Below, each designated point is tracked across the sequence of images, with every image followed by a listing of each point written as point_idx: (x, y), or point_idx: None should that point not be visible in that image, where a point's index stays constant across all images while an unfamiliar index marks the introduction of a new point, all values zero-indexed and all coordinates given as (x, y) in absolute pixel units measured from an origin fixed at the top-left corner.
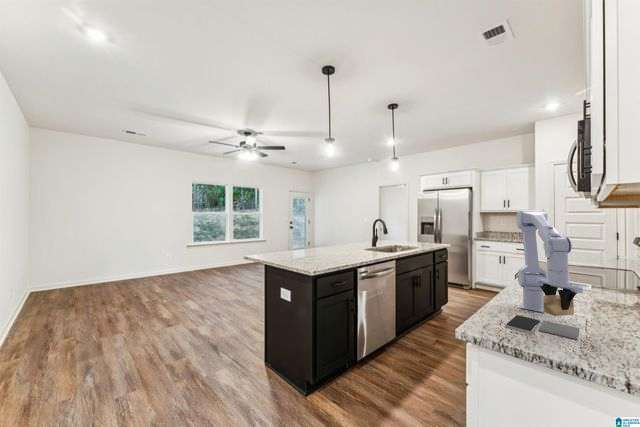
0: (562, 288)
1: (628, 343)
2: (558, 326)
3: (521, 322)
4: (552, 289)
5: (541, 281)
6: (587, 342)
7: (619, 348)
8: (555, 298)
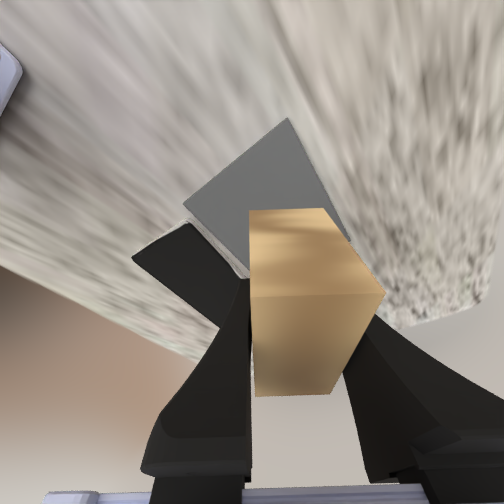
0: (391, 492)
1: (499, 36)
2: (252, 203)
3: (209, 292)
4: (249, 423)
5: None
6: (373, 223)
7: (461, 161)
8: (323, 387)
